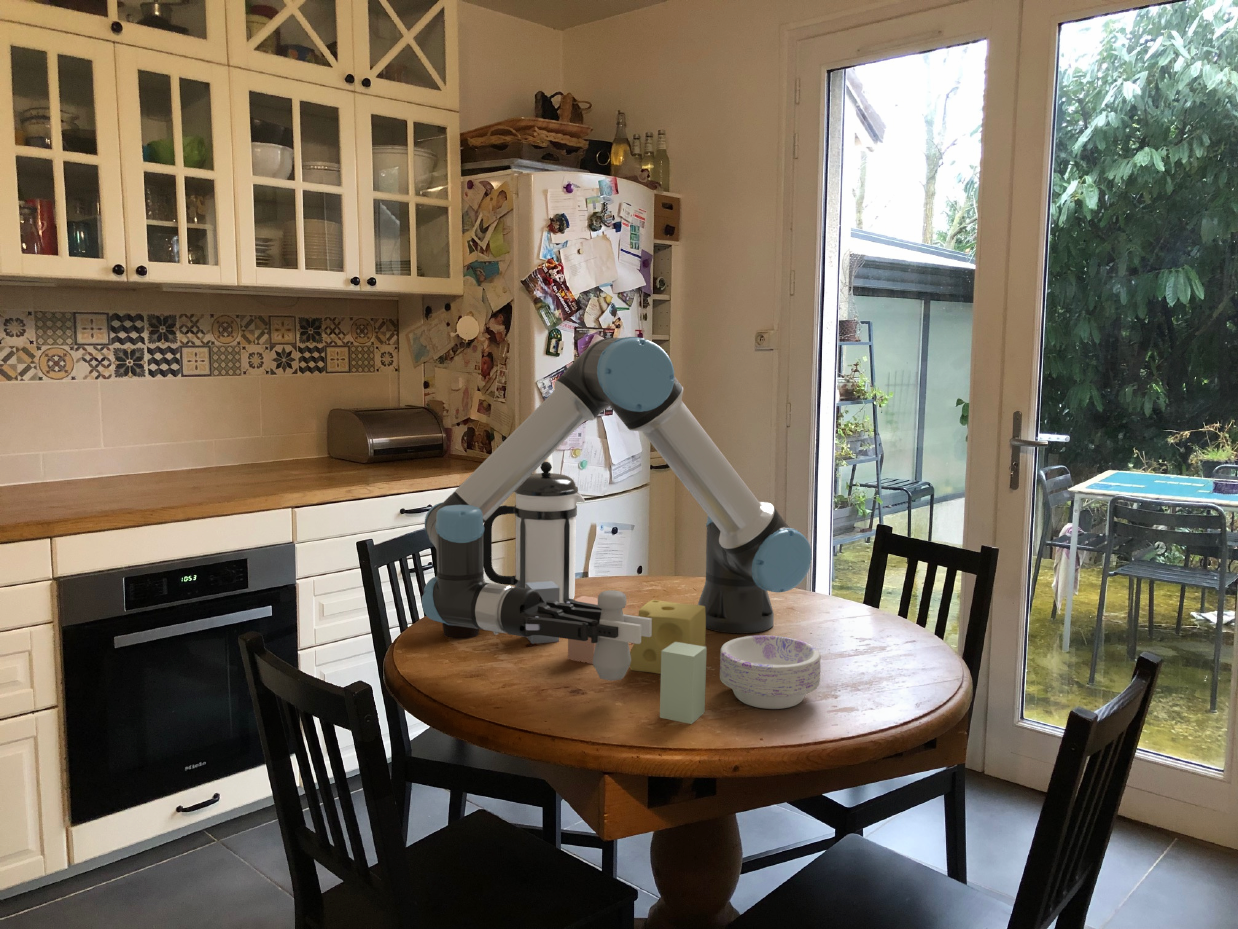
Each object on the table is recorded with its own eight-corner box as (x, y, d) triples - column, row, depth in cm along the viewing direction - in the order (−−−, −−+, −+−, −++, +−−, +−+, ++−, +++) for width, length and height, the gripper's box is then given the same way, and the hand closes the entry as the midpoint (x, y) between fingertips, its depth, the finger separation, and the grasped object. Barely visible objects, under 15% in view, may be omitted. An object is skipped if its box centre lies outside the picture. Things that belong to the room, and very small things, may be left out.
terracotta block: (581, 651, 171) (582, 595, 170) (607, 655, 169) (608, 599, 167) (567, 659, 166) (568, 602, 165) (593, 664, 164) (594, 606, 163)
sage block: (673, 706, 146) (675, 641, 144) (704, 712, 144) (706, 647, 142) (659, 717, 141) (661, 651, 140) (691, 724, 139) (693, 656, 138)
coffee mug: (475, 642, 175) (475, 588, 173) (430, 638, 176) (429, 584, 175) (496, 624, 186) (496, 573, 185) (453, 620, 188) (453, 570, 186)
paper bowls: (707, 709, 145) (709, 657, 144) (732, 676, 159) (733, 629, 158) (810, 724, 140) (812, 671, 139) (826, 689, 154) (828, 641, 153)
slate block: (551, 633, 181) (552, 581, 179) (559, 641, 176) (559, 587, 175) (525, 635, 179) (525, 582, 178) (532, 644, 174) (532, 589, 173)
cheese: (628, 671, 161) (629, 612, 160) (650, 652, 171) (651, 597, 170) (688, 680, 157) (690, 620, 156) (707, 660, 167) (709, 603, 166)
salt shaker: (635, 672, 149) (636, 589, 147) (624, 684, 143) (625, 598, 142) (599, 667, 151) (599, 585, 149) (587, 680, 145) (587, 595, 143)
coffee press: (547, 593, 209) (548, 455, 205) (596, 609, 197) (598, 462, 194) (480, 607, 197) (480, 460, 194) (528, 625, 186) (529, 469, 182)
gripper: (537, 620, 162) (667, 640, 151) (482, 647, 147) (620, 672, 137) (537, 576, 161) (667, 593, 150) (481, 599, 146) (621, 620, 136)
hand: (645, 631), depth 144 cm, fingers closed on salt shaker, 3 cm apart
